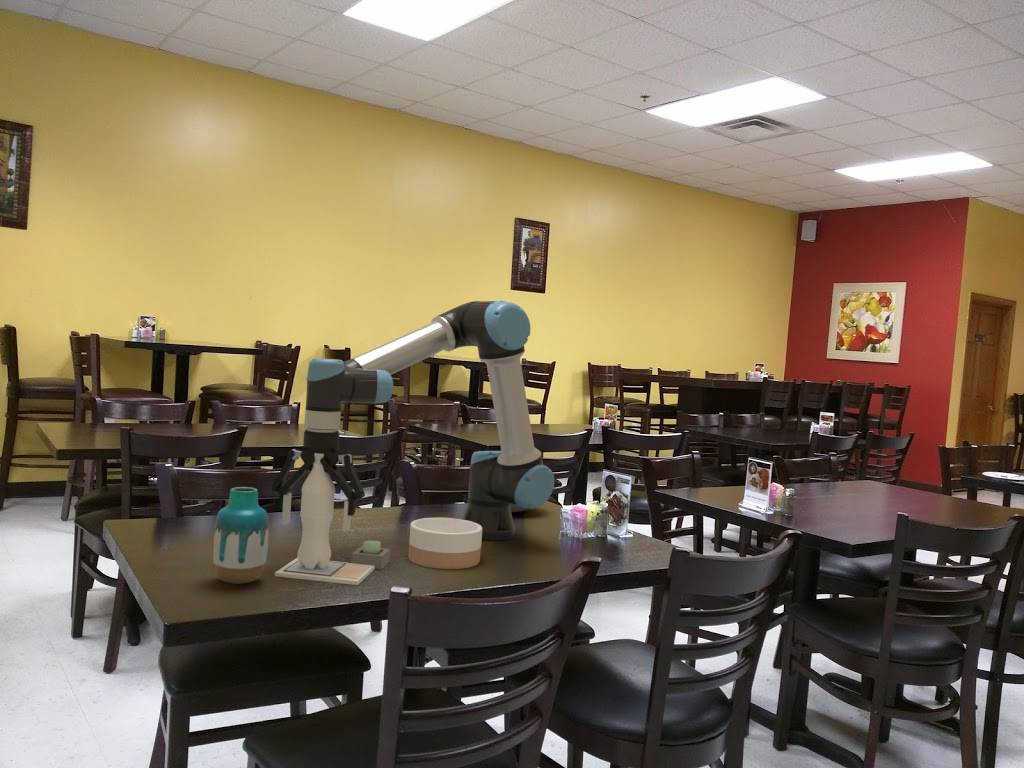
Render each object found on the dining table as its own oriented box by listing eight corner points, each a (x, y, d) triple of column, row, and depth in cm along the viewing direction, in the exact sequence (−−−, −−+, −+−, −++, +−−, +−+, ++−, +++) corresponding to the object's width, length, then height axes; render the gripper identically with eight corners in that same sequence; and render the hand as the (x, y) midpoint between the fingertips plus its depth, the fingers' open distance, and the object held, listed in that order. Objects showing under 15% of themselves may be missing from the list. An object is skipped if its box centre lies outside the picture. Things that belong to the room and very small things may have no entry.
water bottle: (334, 563, 185) (341, 452, 184) (324, 572, 178) (331, 456, 176) (303, 560, 186) (310, 449, 184) (291, 569, 178) (298, 453, 177)
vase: (218, 573, 175) (224, 483, 174) (270, 576, 176) (275, 486, 175) (204, 588, 164) (210, 492, 163) (259, 591, 165) (265, 495, 164)
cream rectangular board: (374, 569, 187) (375, 564, 187) (357, 585, 174) (357, 580, 174) (297, 560, 189) (297, 556, 189) (274, 576, 176) (275, 571, 176)
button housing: (389, 561, 194) (390, 549, 193) (381, 569, 187) (382, 556, 186) (360, 558, 194) (360, 546, 194) (351, 566, 187) (351, 553, 187)
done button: (381, 556, 192) (382, 541, 192) (377, 560, 188) (378, 545, 188) (364, 554, 193) (365, 539, 192) (359, 558, 189) (360, 543, 188)
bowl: (451, 574, 188) (454, 537, 188) (393, 558, 197) (395, 523, 197) (493, 560, 203) (496, 526, 202) (437, 546, 212) (439, 514, 211)
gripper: (382, 433, 183) (376, 528, 184) (273, 423, 185) (267, 517, 186) (373, 436, 175) (366, 536, 176) (259, 426, 178) (253, 524, 179)
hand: (315, 527), depth 181 cm, fingers open, 13 cm apart
